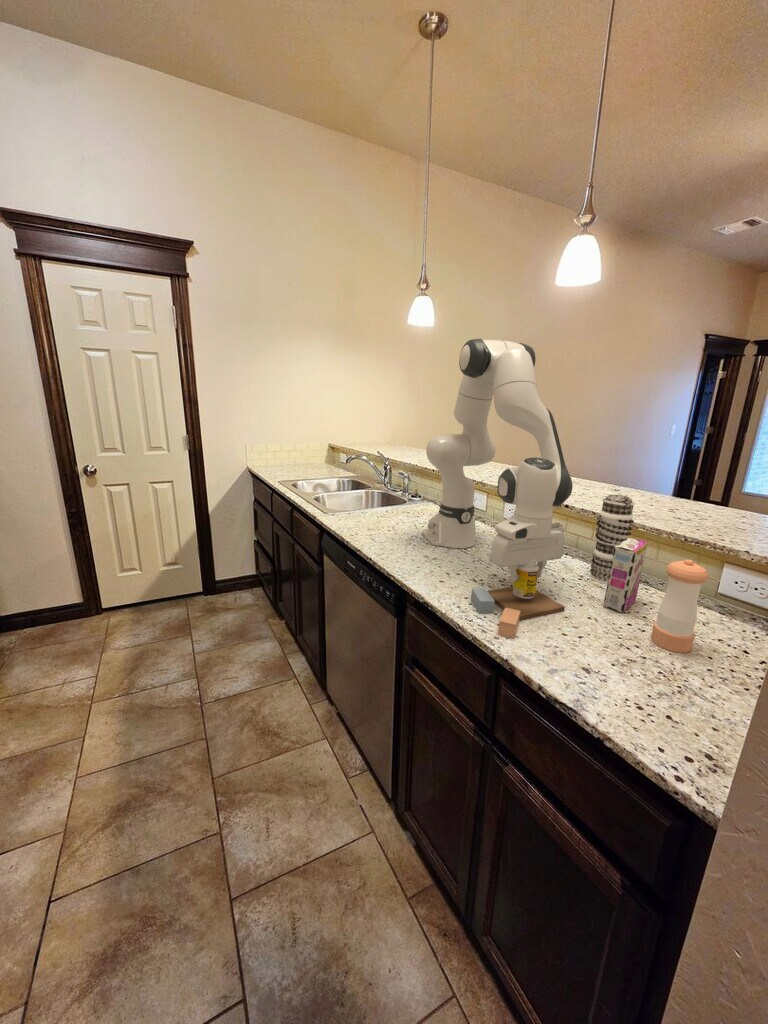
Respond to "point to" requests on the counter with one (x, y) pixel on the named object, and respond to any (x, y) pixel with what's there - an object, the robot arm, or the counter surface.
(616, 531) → the decorative candle
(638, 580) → the candy bar box
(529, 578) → the supplement bottle
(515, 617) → the brick terracotta
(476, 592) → the brick blue
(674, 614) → the pepper shaker
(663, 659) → the counter surface
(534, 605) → the board
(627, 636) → the counter surface
